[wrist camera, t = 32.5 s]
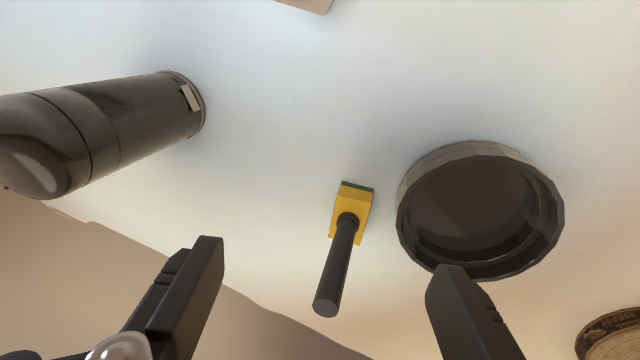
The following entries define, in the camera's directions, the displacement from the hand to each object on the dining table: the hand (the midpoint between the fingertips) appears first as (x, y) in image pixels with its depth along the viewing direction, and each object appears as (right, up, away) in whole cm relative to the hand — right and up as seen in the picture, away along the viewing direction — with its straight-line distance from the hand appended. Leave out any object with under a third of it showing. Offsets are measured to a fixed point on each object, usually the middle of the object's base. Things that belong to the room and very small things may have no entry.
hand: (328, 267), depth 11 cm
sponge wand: (+4, -1, +31) cm, 31 cm away
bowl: (+18, 0, +26) cm, 32 cm away
